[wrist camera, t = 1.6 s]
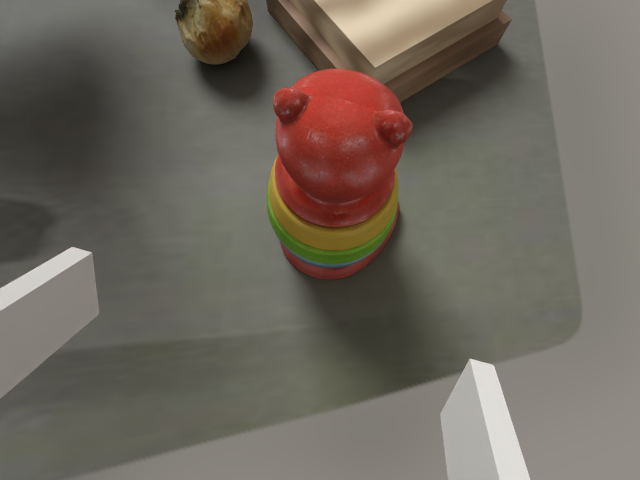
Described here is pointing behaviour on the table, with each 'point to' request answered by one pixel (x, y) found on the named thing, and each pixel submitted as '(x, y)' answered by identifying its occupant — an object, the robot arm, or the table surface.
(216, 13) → the onion
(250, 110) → the table surface
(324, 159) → the stacking bear
